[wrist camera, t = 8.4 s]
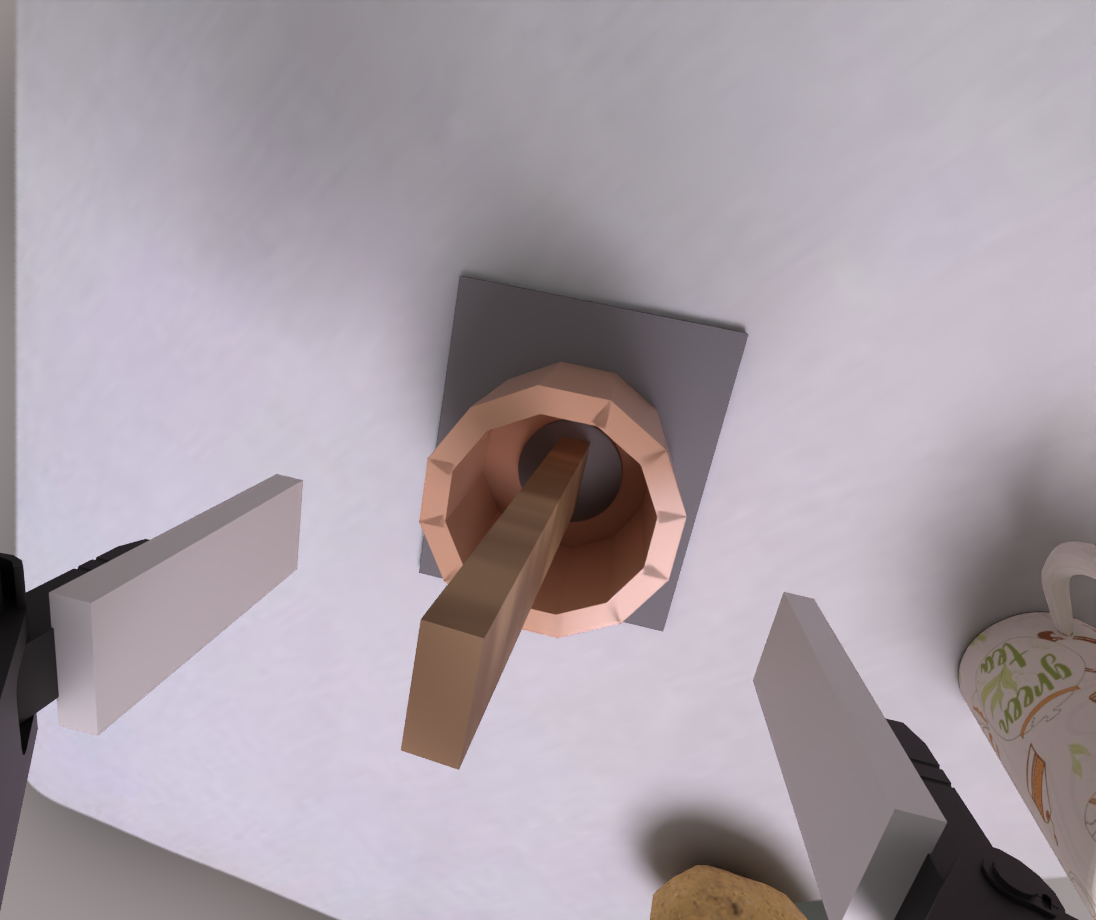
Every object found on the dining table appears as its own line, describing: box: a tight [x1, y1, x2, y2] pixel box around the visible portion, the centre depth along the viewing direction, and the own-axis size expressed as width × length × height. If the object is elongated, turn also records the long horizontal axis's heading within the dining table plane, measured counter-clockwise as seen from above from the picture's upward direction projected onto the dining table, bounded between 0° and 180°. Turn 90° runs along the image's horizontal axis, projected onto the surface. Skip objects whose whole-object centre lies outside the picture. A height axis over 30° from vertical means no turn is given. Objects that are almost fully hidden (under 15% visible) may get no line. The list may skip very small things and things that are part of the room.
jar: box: [419, 361, 687, 638], centre depth 23 cm, size 9×9×6 cm
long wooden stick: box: [401, 419, 623, 770], centre depth 18 cm, size 4×4×15 cm
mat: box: [419, 276, 748, 631], centre depth 26 cm, size 14×12×1 cm
